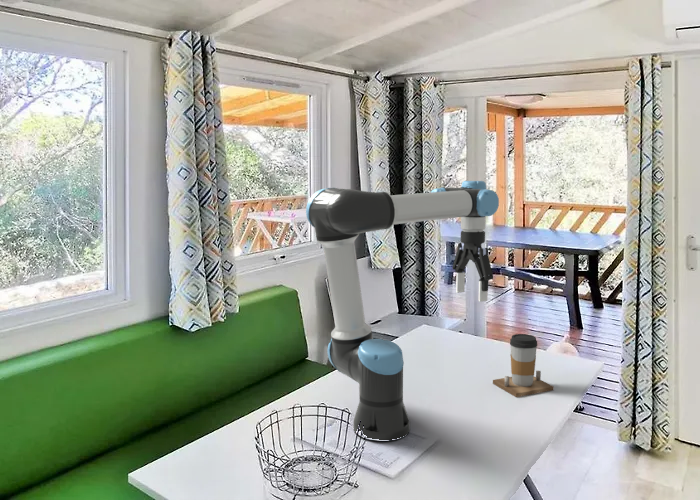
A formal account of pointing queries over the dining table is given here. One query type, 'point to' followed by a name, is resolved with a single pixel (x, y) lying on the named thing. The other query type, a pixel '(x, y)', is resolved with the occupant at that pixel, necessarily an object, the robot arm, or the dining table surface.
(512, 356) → the coffee cup
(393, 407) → the robot arm
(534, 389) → the wooden board with pegs
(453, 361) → the dining table surface
